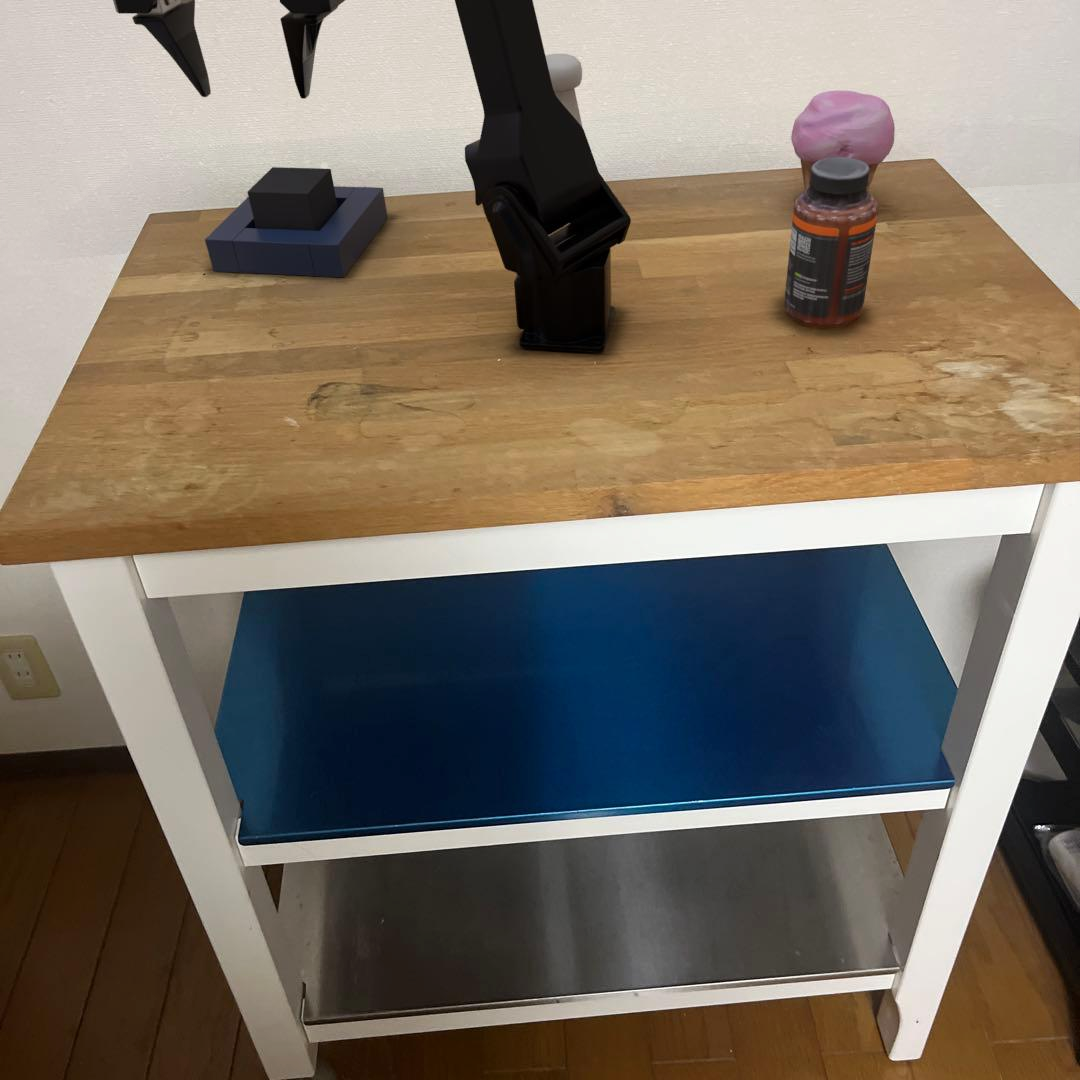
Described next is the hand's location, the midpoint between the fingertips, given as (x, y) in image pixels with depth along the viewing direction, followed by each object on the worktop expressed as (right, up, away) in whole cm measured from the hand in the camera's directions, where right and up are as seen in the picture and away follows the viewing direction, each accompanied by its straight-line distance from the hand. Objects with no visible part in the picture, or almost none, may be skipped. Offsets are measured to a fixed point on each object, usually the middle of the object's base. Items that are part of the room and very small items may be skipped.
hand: (255, 96), depth 89 cm
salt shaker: (+27, -6, +9) cm, 29 cm away
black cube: (+3, -11, +5) cm, 13 cm away
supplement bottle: (+46, -21, -9) cm, 52 cm away
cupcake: (+51, -8, +5) cm, 52 cm away
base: (+3, -11, +5) cm, 13 cm away
